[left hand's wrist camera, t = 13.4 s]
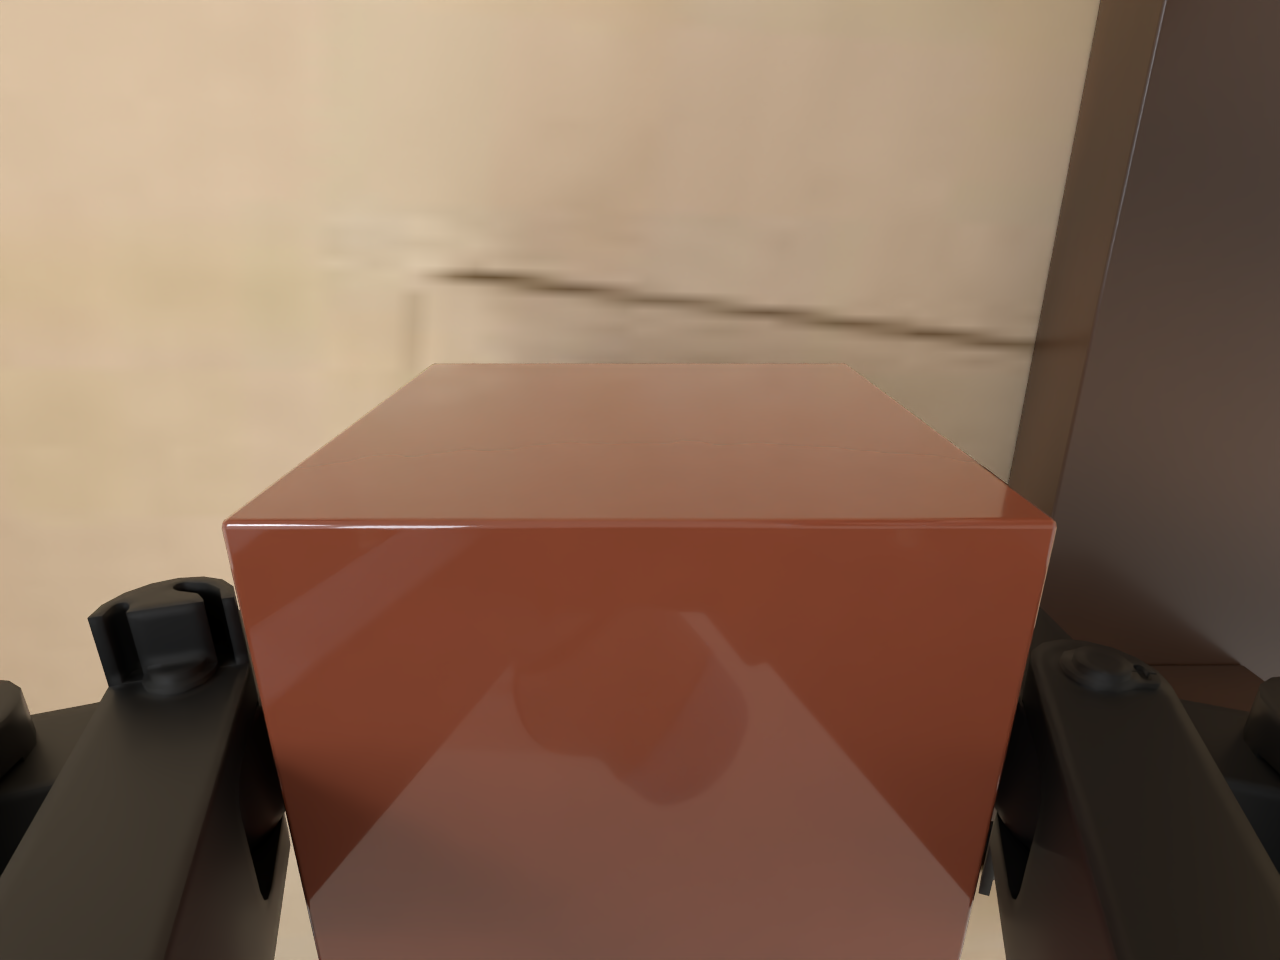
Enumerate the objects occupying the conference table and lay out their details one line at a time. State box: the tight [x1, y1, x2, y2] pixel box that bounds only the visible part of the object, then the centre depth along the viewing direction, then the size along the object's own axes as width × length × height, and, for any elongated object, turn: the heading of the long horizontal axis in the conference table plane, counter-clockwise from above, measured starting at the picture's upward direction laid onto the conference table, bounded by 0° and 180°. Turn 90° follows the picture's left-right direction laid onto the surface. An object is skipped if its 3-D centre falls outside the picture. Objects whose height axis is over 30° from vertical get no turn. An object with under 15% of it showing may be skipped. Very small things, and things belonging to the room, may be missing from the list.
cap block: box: [222, 364, 1057, 960], centre depth 9 cm, size 6×6×6 cm
